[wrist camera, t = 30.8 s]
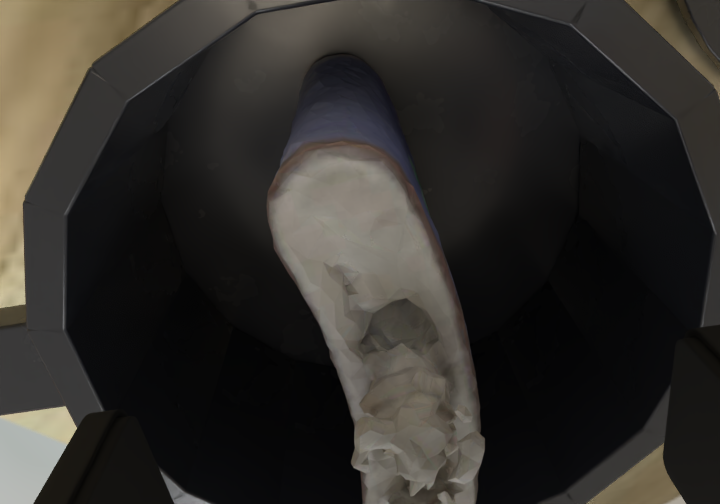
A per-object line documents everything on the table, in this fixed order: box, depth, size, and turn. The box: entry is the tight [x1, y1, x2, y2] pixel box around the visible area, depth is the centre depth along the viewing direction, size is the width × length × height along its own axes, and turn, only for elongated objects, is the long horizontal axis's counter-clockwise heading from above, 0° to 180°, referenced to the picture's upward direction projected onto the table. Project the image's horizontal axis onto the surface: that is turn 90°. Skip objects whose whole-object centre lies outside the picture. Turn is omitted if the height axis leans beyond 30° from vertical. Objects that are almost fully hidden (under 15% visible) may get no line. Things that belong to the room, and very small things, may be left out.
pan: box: [0, 0, 720, 504], centre depth 15 cm, size 15×20×8 cm
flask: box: [267, 54, 485, 504], centre depth 13 cm, size 9×3×11 cm, turn 13°
